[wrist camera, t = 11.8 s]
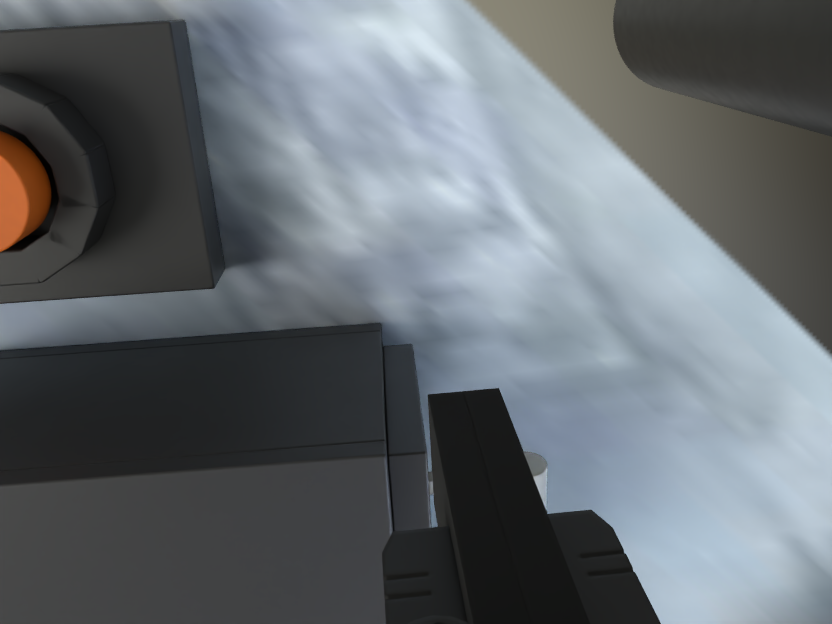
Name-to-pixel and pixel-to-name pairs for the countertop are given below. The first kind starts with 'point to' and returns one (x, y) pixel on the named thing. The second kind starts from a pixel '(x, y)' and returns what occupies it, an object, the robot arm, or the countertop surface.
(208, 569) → the tilted charcoal box
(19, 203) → the button
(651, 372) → the countertop surface
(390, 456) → the grey drawer with handle
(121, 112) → the control block
